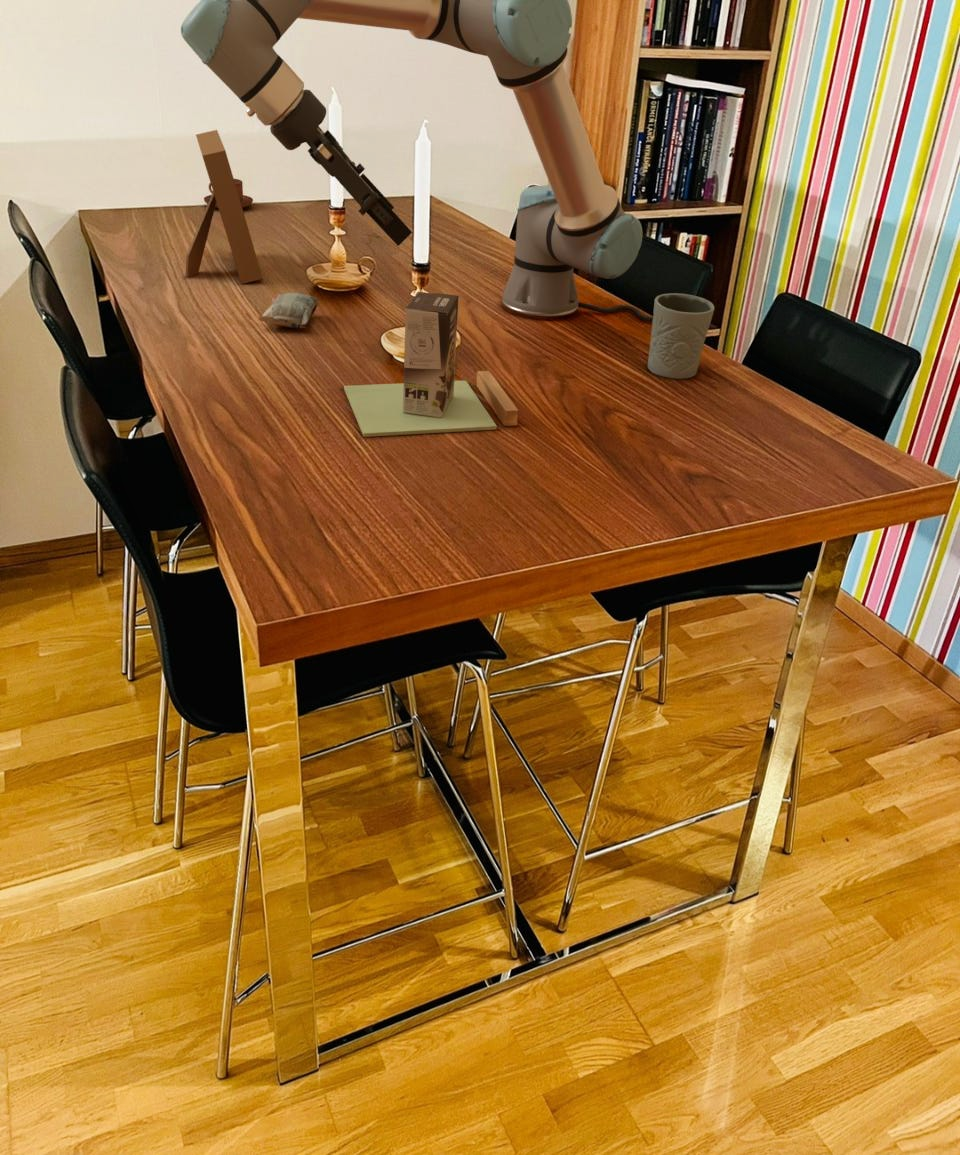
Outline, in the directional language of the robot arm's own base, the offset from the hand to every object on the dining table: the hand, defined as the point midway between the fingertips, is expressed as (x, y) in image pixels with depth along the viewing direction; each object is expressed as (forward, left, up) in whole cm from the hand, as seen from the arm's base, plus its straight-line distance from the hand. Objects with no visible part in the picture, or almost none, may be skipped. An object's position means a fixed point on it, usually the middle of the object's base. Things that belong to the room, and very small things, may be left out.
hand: (395, 225), depth 145 cm
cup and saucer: (+17, -124, -26) cm, 128 cm away
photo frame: (+22, -70, -26) cm, 78 cm away
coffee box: (-4, +6, -25) cm, 26 cm away
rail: (-15, +6, -26) cm, 31 cm away
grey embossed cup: (-51, -5, -26) cm, 57 cm away
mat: (-3, +6, -26) cm, 27 cm away
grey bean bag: (+12, -35, -26) cm, 45 cm away
